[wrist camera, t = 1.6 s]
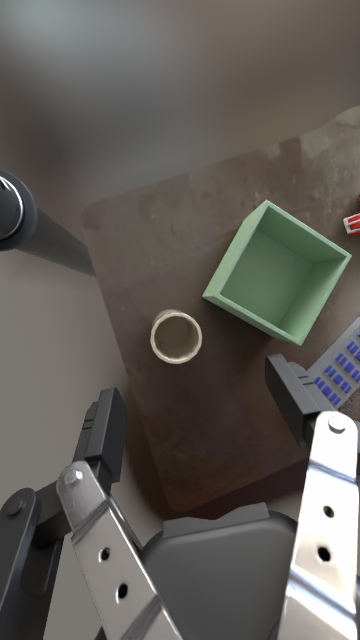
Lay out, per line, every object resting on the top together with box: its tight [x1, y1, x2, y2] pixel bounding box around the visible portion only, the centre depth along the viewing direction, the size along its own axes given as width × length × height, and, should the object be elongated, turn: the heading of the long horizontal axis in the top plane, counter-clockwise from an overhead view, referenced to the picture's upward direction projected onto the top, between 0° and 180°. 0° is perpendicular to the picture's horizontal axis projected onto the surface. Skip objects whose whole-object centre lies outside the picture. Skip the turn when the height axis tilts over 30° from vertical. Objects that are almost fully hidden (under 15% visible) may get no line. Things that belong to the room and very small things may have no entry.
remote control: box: [306, 315, 360, 410], centre depth 42 cm, size 8×23×2 cm, turn 136°
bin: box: [202, 200, 352, 346], centre depth 36 cm, size 14×14×8 cm
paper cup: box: [150, 309, 202, 364], centre depth 34 cm, size 6×6×10 cm
